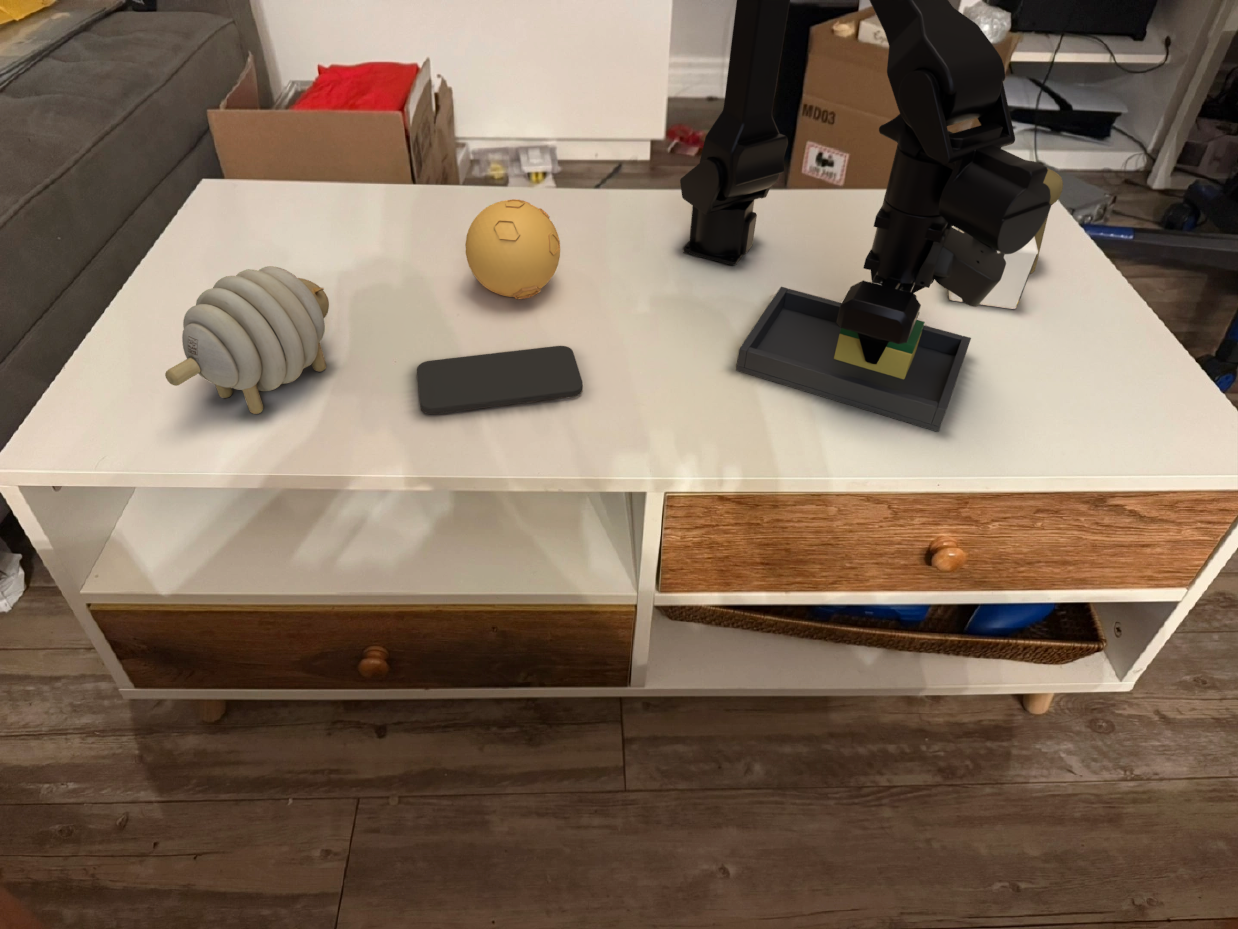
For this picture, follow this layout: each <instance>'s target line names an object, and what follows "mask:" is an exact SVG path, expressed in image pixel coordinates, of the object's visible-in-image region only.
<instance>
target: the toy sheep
mask: <svg viewBox="0 0 1238 929" xmlns="http://www.w3.org/2000/svg"><path fill="white" fill-rule="evenodd" d="M329 309H330V300H329V297H328V295H327V293H326V291H325V287H320V286H319V285H318V284H317V283H315V282H313V281H311V280H308V279H306V278H301V277H297V276H296V275H295V274H293V273H292V272H290V271H289V270H287V269H285V268H283V267H279V266H273V265H269V266H268V265H267V266H264V267H261V268H259V269H258V270H257V269H253V268H252V269H251V268H250V269H249V268H248V269H244V270H242V271H239V272H238V273H236V275H227V276H224V277H221V278H220V279H218V280H217V281H216V282H214V284H213V287H212V288H209V289H206V290H204V291H203V292H202V293H201V294H199V296H198V298H197V299H196V302H195V305H193V306H191V307H190V308H189V309H188V310H187V311H186V312H185V314H184V317H183V320H182V328H183V330H182V336H181V338H182V340H181V341H182V349H183V352H184V356H185V358H186V359H184V360H183V361H181V362H179V363H177V364H176V365H174V366H172V367H170V368H168V369H167V370H166V371H165V373H164V374H165V379H166V380H167V382H168V383H169V384H170V385H172V386H174V387H177V386H180V385H182V384H183V383H186V382H187V381H188V380H190V379H192V378H193V377H195V376H197V375H199V376H200V377H202V379H204V380H206V381H207V382H209V383H211V384H214V385H215V388H216V391H217V394H218V396H219V397H220V398H221V399H229V398H230V397H231V396H232V395H233V393H234V392H233V391H234V390H239V391H242V393H243V396H244V399H245V402H246V405H247V408H248V411H249V412H250V413H251V414H253V415H258V414H260V413H262V412H263V411H264V404H263V401H262V399H261V396H260V392H259V391H261V392H270V391H274V390H277V389H278V388H279V387H280V386H281V385H283V384H284V385H285V384H290V383H293V382H295V381H296V380H297V379H298V378H299V377H300V376H301V374H302V372H303V370H304V369H306V368H308V367H309V366H311V367H312V369H313V370H314V371H316V372H320V373H321V372H323V371H325V370H326V368H327V362H326V359H325V356H324V351H323V349H322V344H321V341H322V340H323V338H324V335H325V330H326V328H325V327H326V322H325V318H326V317H327V315H328V313H329ZM233 389H234V390H233Z"/></svg>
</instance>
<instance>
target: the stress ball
mask: <svg viewBox="0 0 1238 929" xmlns="http://www.w3.org/2000/svg"><path fill="white" fill-rule="evenodd" d="M464 246H465V257H466V261H467V264H468V267H469V269H470V271H471V273H472V274H473V276H474V277H475V279H476V280H477V281H478V282H479V283H480V284H481V285H482V286H483V287H484V288H486V289H487V290H489V291H490V292H492V293H495V294H497V295H500V296H503V297H509V298H514V299H515V300H524V299H528V298H532V297H533V296H536V295H537V294H539V293H540V292H541V289H542V288H543V287H544V286H546V285H547V284H548V283H549V282H550V281H551V279H552V278H553V277H554V275H555V273H556V271H557V268H558V266H559V263H560V258H561V240H560V237H559V232H558V230H557V229H556V227H555V224H554V222H553V221H552V220H551V219H550V215H549V214H548V213H547V212H546V211H545V210H544V209H543V208H541V207H540V208H539V207H537V206H535V205H534V204H531V203H530V202H528V201H526V200H523V199H516V198H515V199H514V198H513V199H506V200H500V201H497V202H495V203H492V204H489V205H488V206H486V207H485V208H484V209H482V210H481V211H480V212H479V213H478V214H477V215H476V216H475V217H474V219H473V220H472V222H471V224H470V225H469V227H468V231H467V233H466V237H465V245H464Z"/></svg>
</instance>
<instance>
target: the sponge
mask: <svg viewBox="0 0 1238 929" xmlns="http://www.w3.org/2000/svg"><path fill="white" fill-rule="evenodd" d="M925 324H926V323H925V321H923V320H919V319H917V320H916V322H915V325H914V328H913V330H912V332H911V335H910V337H909V339H908V341H907V343H902V344H896V343H893V342H889V343H888V345H887V347H886V348H885V350H884V352H883V354H882V356H881V357H880V359H879V361H878V363H877V364H872V363H868V362H866V361H865V358H864V354H863V351H862V347H861V344H860V340H859V337H858V334H857V332H854V331H850V330H846V329H843V328H841V330H840V334H839V338H838V343H837V347H836V351H835V355H834V359H835V360H839V361H842V362H846V363H849V364H853V365H856V366H859V367H863V368H866V369H870V370H873V371H876V372H880V373H883V374H887V375H890V376H894V377H897V378H900V379H905V377H906V374H907V372H908V370H909V367H910V365H911V362H912V360H913V358H914V355H915V352H916V349H917V346H918V343H919V339H920V336H921V333H922V330H923V327H924V325H925Z"/></svg>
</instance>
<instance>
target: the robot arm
mask: <svg viewBox="0 0 1238 929" xmlns="http://www.w3.org/2000/svg"><path fill="white" fill-rule="evenodd" d="M868 1H869V3H870V5H871V7H872V9H873V12H875V15H876V17H877V19H878V21H879V23H880V26H881V27H882V30H883V31H884V34H885V37H886V41H887V43H888V55H887V65H886V66H887V67H886V75H887V78H888V81H889V85H890V87H891V91H892V94H893V98H894V100H895V103H896V107H897V109H898V112H899V114H898V115H897V116H895V117H894V118H893V119H891V120H889V121H887V122H885V123H882V124H881V125H880V126H879V127H878V132H879V134H880V135H881V136H884V137H886V138H887V139H889V140H892V141H893V142H895V143H896V144H897V145H896V149H895V153H894V157H893V161H892V165H891V169H890V173H889V177H888V182H887V185H886V190H885V193H884V197H883V201H882V205H881V207H880V208H879V210H878V212H877V214H876V215H875V217H874V223H873V228H876V230H875V234H874V237H873V242H872V246H871V248H870V250H869V251H868V254H867V255H866V257H865V260H864V263H863V267H862V269H864V270H868V271H870V280H871V281H867V280H861V281H858V282H857V283H856V284H853V285H851V286H850V288H849V289H848V291H847V293H846V295H845V296H844V298H843V300H842V301H841V302H840V303H841V305H840V309H839V313H838V318H837V322H836V323H837V324H838V325H839V327H840V328H843V329H846V330H850V331H854V332H857V334H858V337H859V340H860V344H861V347H862V351H863V354H864V358H865V361H866V362H868V363H872V364H877V363H878V361H879V359H880V357H881V356H882V354H883V352H884V350H885V348H886V347H887V345H888V343H889V342H893V343H896V344H902V343H907V341H908V339H909V337H910V335H911V332H912V330H913V328H914V325H915V322H916V320H918V317H919V315H920V314H921V313H920V310H921V307H922V304H921V303H920V302H919V300H918V299H917V294H915V293H917V292H919V291H921V290H922V289H925V288H926V289H927V288H928V289H930V287H931V285H932V284H933V283H934V282H936V283H937V284H938V285H939V286H941V287H943V288H944V289H945V290H947V291H948V290H949V291H951V292H952V293H954V294H955V295H957V296H959V297H960V298H962V301H963V302H962V303H964V304H966V305H967V306H970V307H975V308H976V307H978V306H979V305H981V304H980V303H981V302H982V300H983V299H984V298H985V297H986V296H987V295H988V294H989V293H990V291H991V290H992V289H993V288H994V287H995V286H996V285H997V284H998V282H999V281H1000V280H1001V278H1002V275H1003V272H1004V269H1005V266H1006V261H1005V259H1004V255H1005V254H1012V253H1015V252H1017V251H1018V250H1020V249H1022V248H1023V247H1024V246H1025V245H1026V244H1028V243H1029V242H1030V241H1031V239H1032V238H1033V237H1034V236H1035V235H1036V234H1037V232H1038V231H1039V230H1040V228H1041V227H1042V225H1043V223H1044V222H1045V220H1046V218H1047V216H1048V217H1049V213H1050V210H1051V208H1052V205H1051V204H1050V197H1051V195H1050V189H1049V187H1048V186H1047V185H1046V184H1045V183H1043V182H1044V180H1045V177H1046V174H1047V172H1048V169H1049V168H1048V167H1047V166H1045V165H1043V164H1041V163H1039V162H1037V161H1034V160H1027V159H1024V158H1022V157H1021V156H1018V155H1016V154H1013V153H1011V152H1009V151H1007V150H1005V149H1002V148H1004V147H1007V146H1011V145H1013V144H1014V143H1015V142H1016V135H1015V131H1014V130H1015V129H1014V127H1013V122H1012V116H1011V112H1010V108H1009V103H1008V98H1007V94H1006V90H1005V89H1006V88H1005V85H1004V81H1005V80H1006V69H1005V65H1004V62H1003V59H1002V56H1001V55H1000V53H999V52H998V50H997V49H996V47H995V46H994V45H993V43H992V42H991V41H990V40H989V38H988V37H987V35H986V34H985V32H984V31H983V30H982V29H981V27H980V25H978V24H977V23H976V22H974V21H973V20H972V19H970V18H969V17H967V15H964V14H963V13H962V12H961V11H959V10H958V9H956V8H955V7H954V6H953V5H952V3H951V2H950V0H868ZM790 2H791V0H736V3H735V12H734V20H733V28H732V36H731V44H730V53H729V60H728V69H727V77H726V83H725V84H726V85H725V94H724V103H723V108H722V111H721V112H720V114H719V115H718V117H717V118H716V120H715V121H714V123H713V124H712V125H711V127H710V129H709V130H708V132H707V133H706V135H705V137H704V143H703V144H702V149H701V153H700V154H701V155H700V159H699V163H698V164H696V165H695V166H694V167H693V168H691V170H689V171H688V172H687V173H685V174H684V175H683V176H682V177H681V178H680V180H679V183H680V191H681V198H682V199H683V200H684V201H686V202H687V203H688V204H690V205H691V206H692V207H691V219H690V230H689V240H688V242H687V243H686V244H685V245H684V246H683V250H682V251H683V253H684V254H689V255H692V256H696V257H699V258H704V259H707V260H710V261H715V262H719V263H722V264H726V265H729V266H735V265H737V263H739V261H740V260H741V259H742V257H743V256H745V255H746V254H747V253H748V252H749V250H750V249H751V248H752V247H753V245H754V239H755V232H756V224H757V217H758V216H757V215H758V214H757V212H754V208H755V207H754V206H755V200H758V199H765V198H766V197H767V196H768V194H769V192H770V190H771V187H772V186H773V185H775V184H777V182H778V179H779V176H780V175H781V174H783V173H785V156H786V151H787V149H788V145H789V140H788V139H789V138H788V136H786V135H785V134H782V133H780V131H779V128H778V126H777V124H776V122H775V120H774V117H773V109H774V103H775V95H776V90H777V83H778V77H779V71H780V65H781V59H782V52H783V46H784V40H785V34H786V28H787V20H788V15H789V9H790ZM975 119H977V120H978V122H979V125H977V126H974V127H970V128H967V129H963V130H960V131H956V132H953V131H950V130H949V129H948V127H949V126H953V125H958V124H960V123H964V122H969V121H971V120H975ZM1047 219H1048V218H1047ZM958 229H960V230H961V231H963V232H964V233H962V232H960V231H958ZM997 251H999V252H1000V253H997ZM949 291H948V292H949Z"/></svg>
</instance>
